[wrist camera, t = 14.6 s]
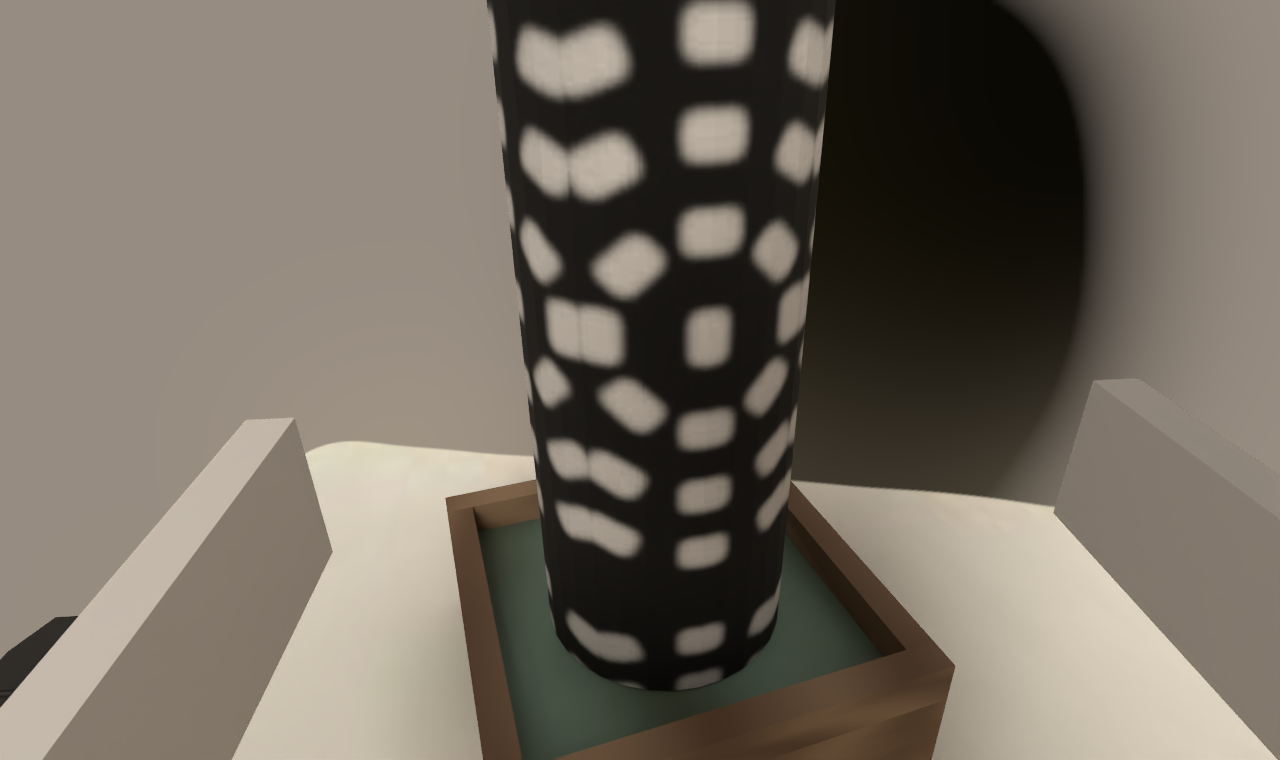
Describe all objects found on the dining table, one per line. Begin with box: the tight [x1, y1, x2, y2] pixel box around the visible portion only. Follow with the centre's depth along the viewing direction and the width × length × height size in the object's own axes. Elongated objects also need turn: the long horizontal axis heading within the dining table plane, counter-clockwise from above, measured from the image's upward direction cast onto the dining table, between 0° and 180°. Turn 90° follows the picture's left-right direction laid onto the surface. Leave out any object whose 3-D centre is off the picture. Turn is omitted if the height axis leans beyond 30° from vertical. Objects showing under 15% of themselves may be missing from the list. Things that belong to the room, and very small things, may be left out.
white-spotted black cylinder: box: [487, 0, 836, 691], centre depth 22 cm, size 8×8×20 cm
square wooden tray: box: [445, 480, 955, 760], centre depth 27 cm, size 14×14×6 cm
